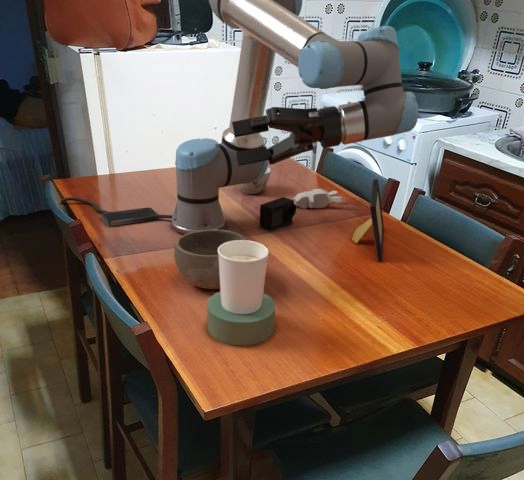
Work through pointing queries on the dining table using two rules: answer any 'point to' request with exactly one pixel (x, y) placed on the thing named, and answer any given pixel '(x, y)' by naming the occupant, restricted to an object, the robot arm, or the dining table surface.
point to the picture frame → (373, 222)
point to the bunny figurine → (315, 198)
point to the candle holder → (242, 275)
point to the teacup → (256, 184)
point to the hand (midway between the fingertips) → (235, 145)
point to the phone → (129, 216)
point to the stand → (240, 322)
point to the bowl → (202, 256)
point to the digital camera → (276, 213)
